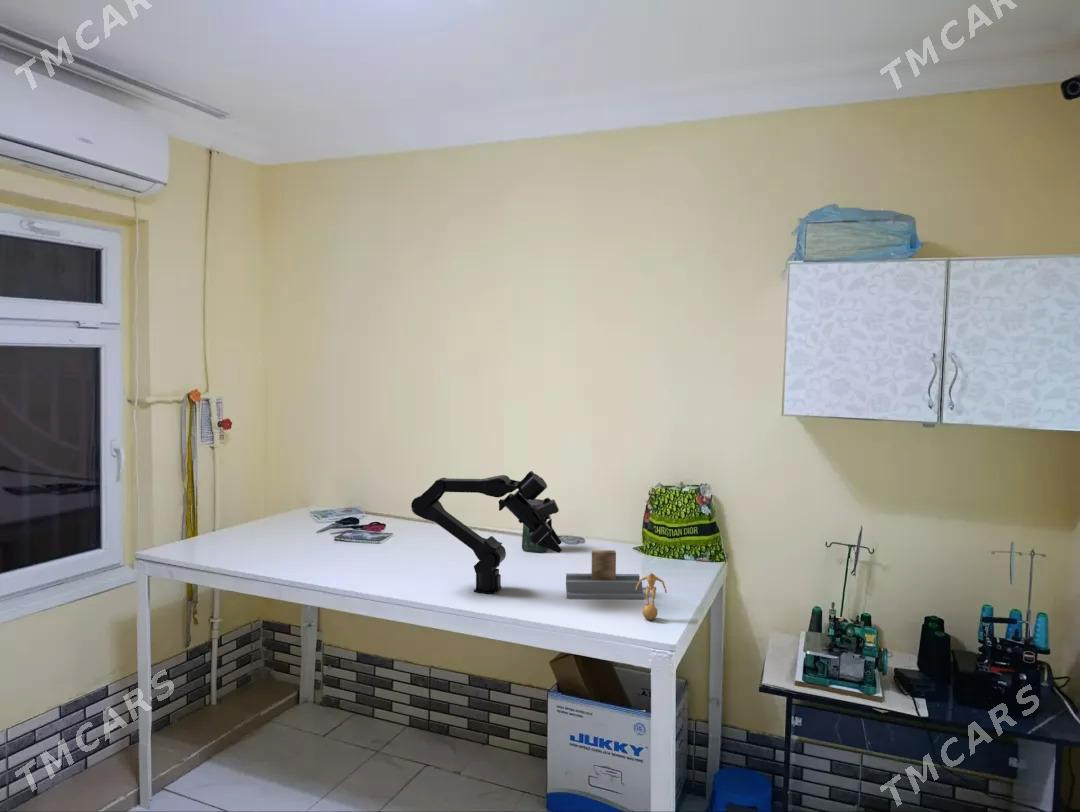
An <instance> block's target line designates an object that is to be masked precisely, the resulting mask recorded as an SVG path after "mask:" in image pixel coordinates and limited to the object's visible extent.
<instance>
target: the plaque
mask: <svg viewBox="0 0 1080 812" xmlns="http://www.w3.org/2000/svg"><path fill="white" fill-rule="evenodd" d="M616 566H617V552H616V550H615V549H614V550H613V549H612V550H608V549H607V550H604V549H603V550H601V549H598V550H597V549H592V550H591V574H592V580H616V574H617V567H616Z"/></svg>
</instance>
